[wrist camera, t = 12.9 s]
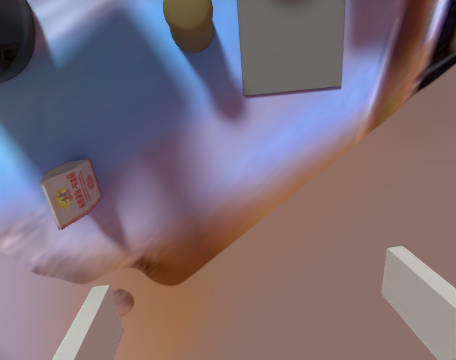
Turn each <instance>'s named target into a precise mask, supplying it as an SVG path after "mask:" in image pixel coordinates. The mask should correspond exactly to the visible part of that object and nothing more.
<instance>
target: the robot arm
mask: <svg viewBox="0 0 456 360" xmlns="http://www.w3.org/2000/svg"><path fill="white" fill-rule="evenodd" d="M34 44H35V29H34V23H33V18H32V15H31V12H30V9H29V7H28V4H27V2H26V0H0V82H3V81H6V80H9V79H11V78H13V77H15V76H16V75H17V74H19V73H20V72H21V71H22V70H23V69H24V68H25V67H26V65H27V64H28V62H29V60H30V58H31V56H32V53H33V49H34ZM382 295H383V296H384V297H385V299H386V300H387V301H388V302H389V303H390V304H391V305H392V307H393V308H394V309H395V310H396V311H397V313H398V314H399V315H400V316H401V317H402V318H403V320H404V321H405V322H406V323H407V324H408V325H409V326H410V328H411V329H412V330H413V331H414V333H415V334H416V335H417V336H418V337H419V338H420V340H421V341H422V342H423V343H424V344H425V345H426V346H427V348H428V349H429V350H430V351H431V352H432V354H433V355H434V356H435V357H436V358H437V359H438V360H456V289H455V288H454V287H453V286H451V285H450V284H449V283H448V282H446V281H445V280H444V279H443V278H441V277H440V276H439V275H438V274H436V273H435V272H434V271H433V270H432V269H430V268H429V267H428V266H427V265H425V264H424V263H423V262H422V261H420V260H419V259H418V258H417V257H415V256H414V255H413V254H412V253H410V252H409V251H408V250H407V249H406V248H404V247H403V246H401V247H393V248H387V255H386V263H385V271H384V278H383V286H382ZM122 333H123V327H122V324H121V320H120V317H119V314H118V310H117V307H116V304H115V300H114V297H113V294H112V290H111V287H110V285H105V286H97V287H93V288H92V289H91V291H90V293H89V295H88V296H87V298H86V300H85V302H84V304H83V305H82V307H81V310H80V311H79V313H78V314H77V316H76V318H75V320H74V322H73V323H72V325H71V327H70V329H69V330H68V332H67V334H66V336H65V338H64V339H63V341H62V343H61V345H60V346H59V348H58V350H57V352H56V354H55V355H54V357H53V359H52V360H113V359H114V357H115V354H116V351H117V348H118V345H119V342H120V339H121V336H122Z"/></svg>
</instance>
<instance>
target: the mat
mask: <svg viewBox="0 0 456 360" xmlns="http://www.w3.org/2000/svg"><path fill="white" fill-rule="evenodd" d="M237 7H238V21H239V36H240V50H241V65H242V79H243V93H244V96H246V95H256V94H266V93H276V92H286V91H296V90H306V89H316V88H326V87H336V86H341V81H342V61H343V40H344V19H345V0H237Z"/></svg>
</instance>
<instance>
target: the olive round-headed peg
mask: <svg viewBox="0 0 456 360" xmlns="http://www.w3.org/2000/svg"><path fill="white" fill-rule="evenodd" d="M163 13H164V16H165V20H166V22H167V23H168V25H169V26H170V31H171V35H172V38H173V40H174V41H175V43H176V44H177V45H178V46H179V47H180V48H181V49H183V50H185V51H187V52H194V53H195V52H199V51H202V50H203V49H205V48H206V47H207V46H208V45H209V44H210V42H211V40H212V37H213V35H214V25H213V21H212V17H213V6H212V1H211V0H164V1H163Z"/></svg>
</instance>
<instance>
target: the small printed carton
mask: <svg viewBox="0 0 456 360" xmlns="http://www.w3.org/2000/svg"><path fill="white" fill-rule="evenodd" d="M40 184H41V186H42V189H43V191H44V194H45V196H46V199H47V202H48V204H49V207H50V209H51V212H52V214H53V217H54V219H55V222H56V224H57V227H58V229H59V230H60V228H61V230H63V229H64V228H65V227H67V226H68V225H70V224H72V223H73V222H75V221H77V220H78V219H80V218H82V217H83V216H85V215H87V214H88V213H89V212H90V211H91V210H92V209H93V208H94V207H95V205H96V204H97V203H98V202H99V201H100V200H101V199H102V195H101V192H100V189H99V186H98V183H97V179H96V176H95V173H94V170H93V167H92V164H91V161H90V159H84V160H77V161H70V162H65V163H63V164H62V165H60V166H58V167H56V168H54V169H52V170H50V171H49V172H47V173H45V174H44V177H43V179H42V181H40Z"/></svg>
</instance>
